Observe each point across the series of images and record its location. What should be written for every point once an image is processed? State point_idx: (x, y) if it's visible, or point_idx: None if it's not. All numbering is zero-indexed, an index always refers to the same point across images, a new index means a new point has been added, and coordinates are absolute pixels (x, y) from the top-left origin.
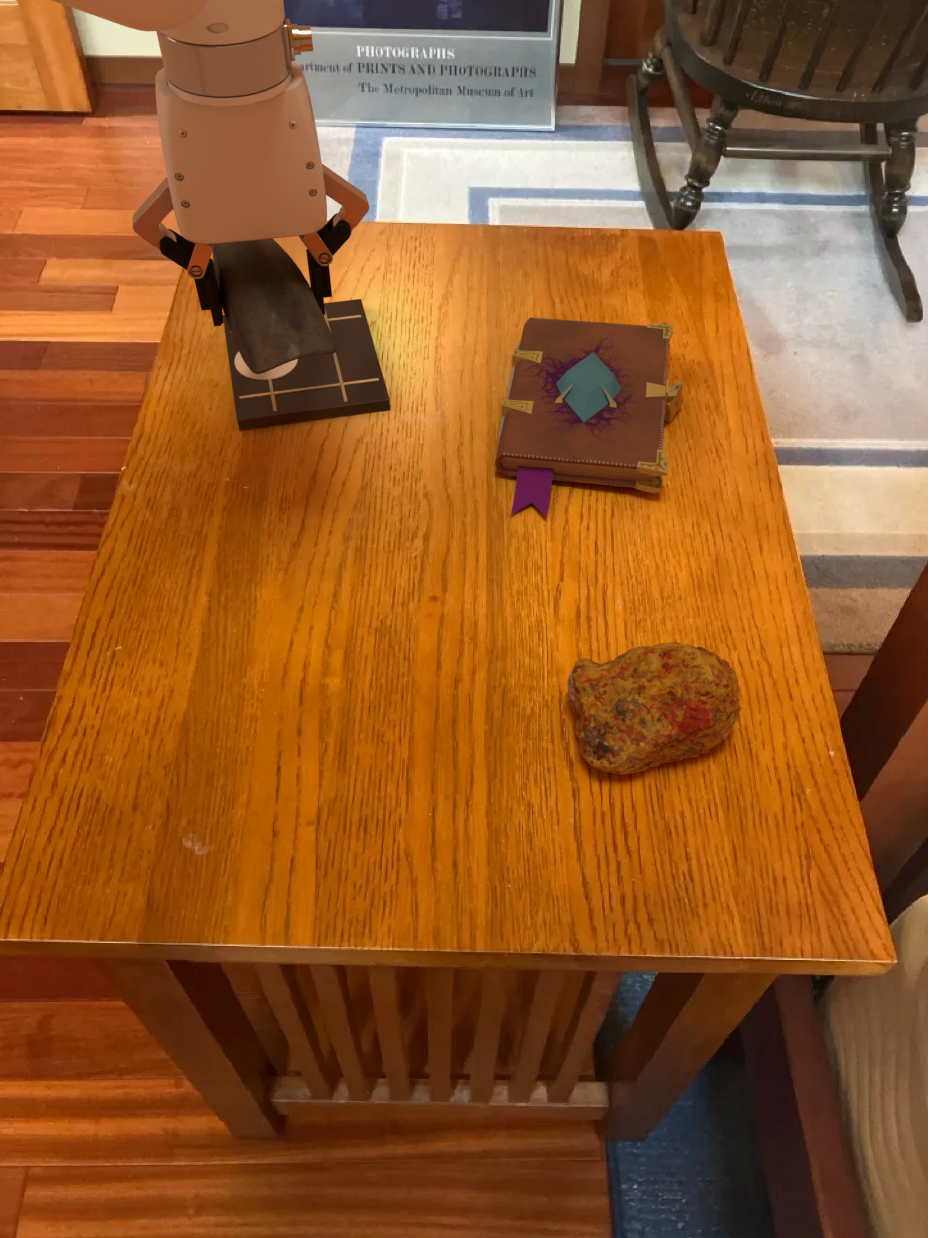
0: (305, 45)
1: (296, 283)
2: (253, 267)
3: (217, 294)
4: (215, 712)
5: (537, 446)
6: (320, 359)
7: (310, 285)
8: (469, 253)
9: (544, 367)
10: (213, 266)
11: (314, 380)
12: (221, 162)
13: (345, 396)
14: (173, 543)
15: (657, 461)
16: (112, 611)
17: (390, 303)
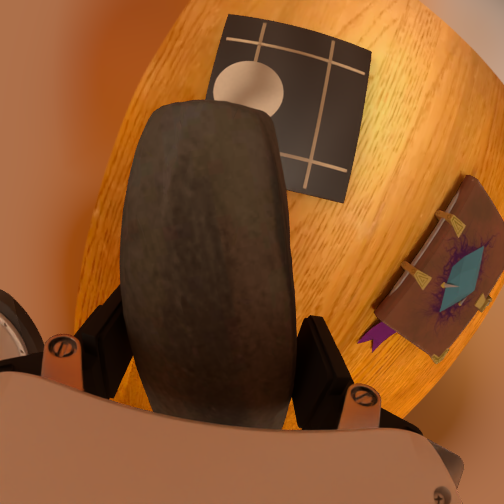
0: None
1: (266, 412)
2: (195, 372)
3: (122, 375)
4: (141, 391)
5: (404, 323)
6: (303, 113)
7: (307, 326)
8: (460, 55)
9: (457, 244)
10: (109, 346)
11: (286, 142)
12: None
13: (306, 181)
14: (119, 282)
15: (440, 356)
16: (86, 318)
17: (392, 63)
